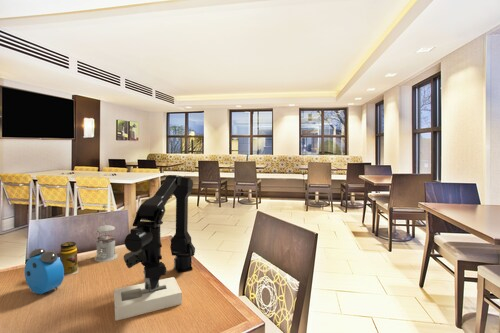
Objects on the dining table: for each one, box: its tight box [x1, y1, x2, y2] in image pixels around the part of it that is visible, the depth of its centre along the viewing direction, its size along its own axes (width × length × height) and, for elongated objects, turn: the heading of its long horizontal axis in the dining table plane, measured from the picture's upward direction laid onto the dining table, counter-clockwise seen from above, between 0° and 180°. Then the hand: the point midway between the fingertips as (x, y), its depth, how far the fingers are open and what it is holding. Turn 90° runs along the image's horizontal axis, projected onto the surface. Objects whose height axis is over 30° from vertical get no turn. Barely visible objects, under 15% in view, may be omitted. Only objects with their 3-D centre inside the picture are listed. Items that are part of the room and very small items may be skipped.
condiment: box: [59, 241, 80, 276], centre depth 112 cm, size 7×8×12 cm
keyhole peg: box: [144, 277, 159, 293], centre depth 92 cm, size 5×5×9 cm
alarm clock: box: [24, 247, 64, 295], centre depth 97 cm, size 13×6×15 cm, turn 67°
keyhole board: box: [113, 276, 183, 322], centre depth 91 cm, size 20×12×4 cm, turn 118°
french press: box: [93, 204, 119, 263], centre depth 127 cm, size 10×12×25 cm
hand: (152, 285), depth 92 cm, fingers closed on keyhole peg, 5 cm apart
